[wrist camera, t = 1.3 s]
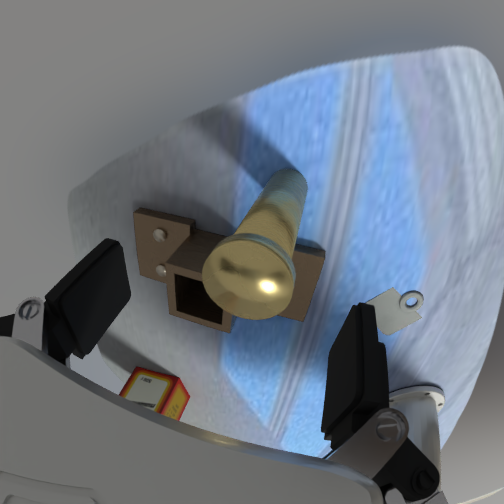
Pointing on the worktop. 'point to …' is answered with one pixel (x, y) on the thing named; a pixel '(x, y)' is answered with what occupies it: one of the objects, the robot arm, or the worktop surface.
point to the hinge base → (191, 264)
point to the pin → (259, 252)
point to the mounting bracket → (395, 310)
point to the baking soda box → (156, 392)
